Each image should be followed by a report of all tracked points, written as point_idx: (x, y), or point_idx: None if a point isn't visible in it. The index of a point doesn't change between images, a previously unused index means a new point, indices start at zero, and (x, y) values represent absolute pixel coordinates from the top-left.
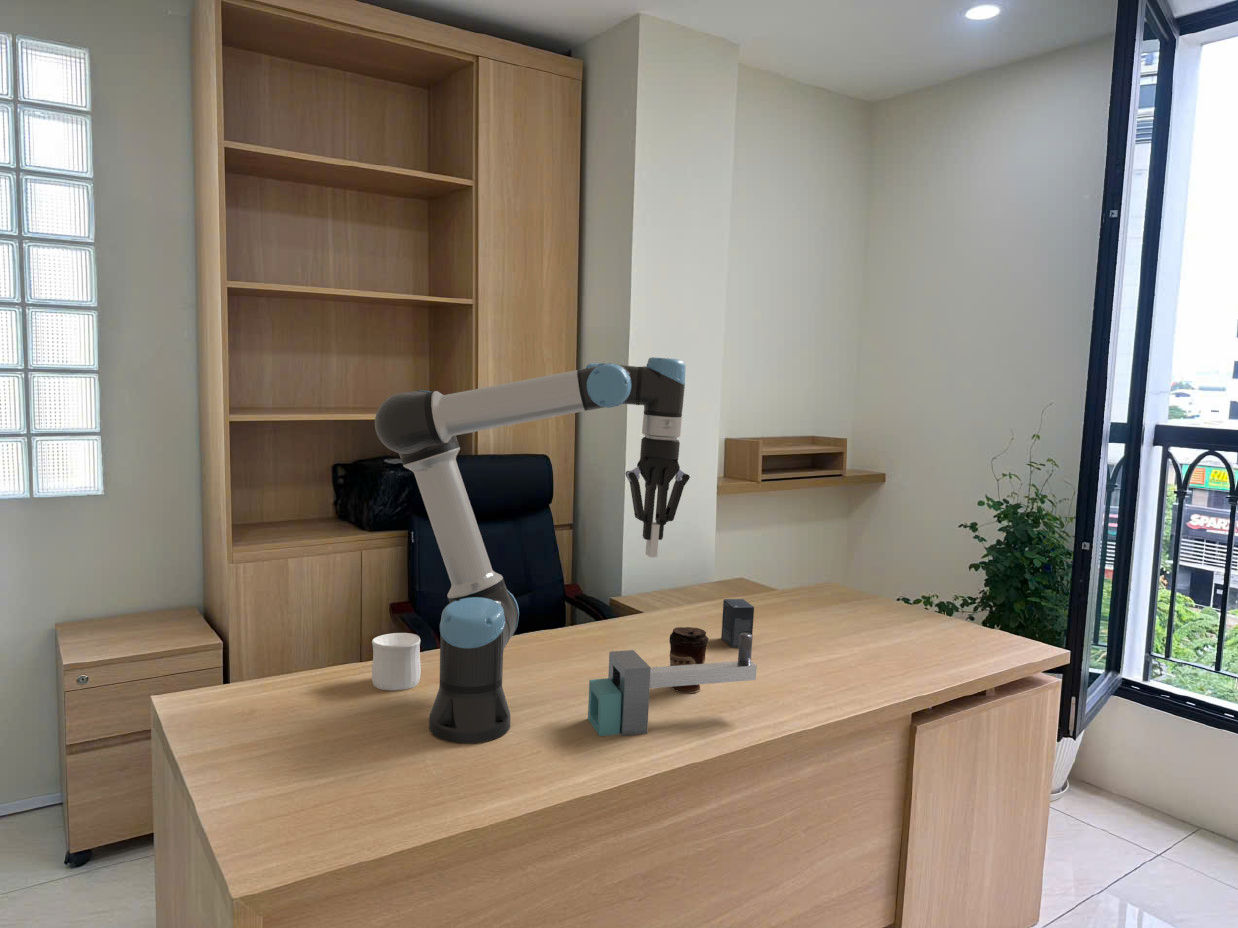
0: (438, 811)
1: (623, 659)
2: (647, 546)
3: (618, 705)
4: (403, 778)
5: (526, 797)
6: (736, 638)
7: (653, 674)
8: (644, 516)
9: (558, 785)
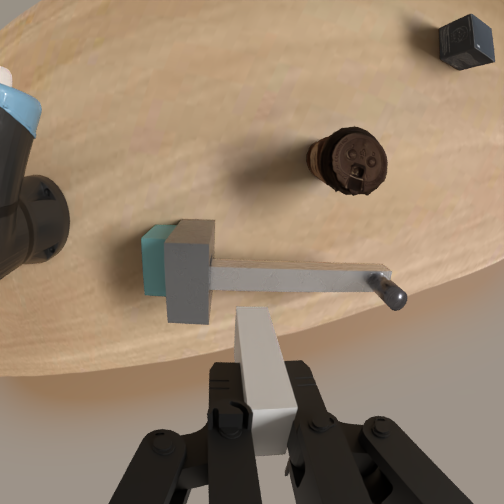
0: (33, 351)
1: (176, 284)
2: (237, 342)
3: None
4: (5, 301)
5: (82, 357)
6: (451, 59)
7: (226, 289)
8: (196, 482)
9: (105, 350)
